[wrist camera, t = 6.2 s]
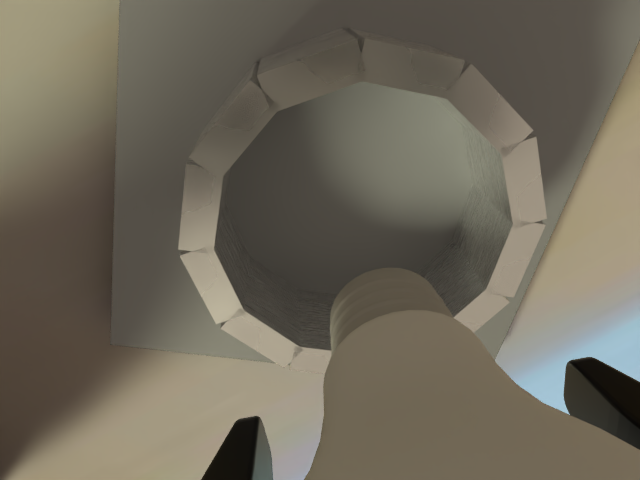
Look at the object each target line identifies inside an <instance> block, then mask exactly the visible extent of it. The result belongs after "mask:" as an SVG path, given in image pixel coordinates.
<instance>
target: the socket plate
mask: <svg viewBox="0 0 640 480" xmlns="http://www.w3.org/2000/svg"><path fill="white" fill-rule="evenodd" d="M340 28H342V29H344V30H345V31H346V32H347V30H348V28H353V29H357V30H362V31H366V32H371V33H375V34H380V35H384V36H389V37H393V38H398V39H402V40H407V41H411V42H416V43H421V44H425V45H429V46H432V47H434V48H437V49H439V50H441V51H444V52H446V53H449V54H451V55H454V56H456V57H459V58H461V59H464V60H465V61H466V62H468V63H471V64H472V65H473V66H474V67H475V68H476V69H477V70H478V71H479V72H480V73H481V74H482V75H483V76H484V78H485V79H486V80H487V81H488V82H489V83H490V84H491V85H492V86H493V87H494V88H495V89H496V90H497V92H498V93H499V94H500V95H501V96H502V97H503V98H504V99H505V100H506V101H507V102H508V103H509V105H510V106H511V107H512V108H513V109H514V110H515V111H516V112H517V113H518V114H519V115H520V116H521V117H522V119H523V120H524V121H525V122H526V123H527V124H528V125H529V126H530V127H531V128H532V129H533V131H532V132H531V134H533V135H534V136H536V138H537V146H538V153H539V161H540V169H541V177H542V184H543V192H544V200H545V207H546V215H547V219H544V220H541V221H542V222H543V223H544V224H546V226H545V228H544V230H543V232H542V235H541V237H540V239H539V241H538V244H537V246H536V248H535V250H534V253H533V255H532V257H531V260H530V262H529V264H528V266H527V269H526V271H525V273H524V275H523V278H522V280H521V282H520V284H519V287H518V289H517V291H516V293H515V296H514V297H507V296H506V298H507V299H508V300H509V302H510V303H509V304H507V305H506V306H505V307H504V308H503V309H501V310H500V311H499V312H498V313H497V314H495V315H494V316H493V317H492V318H491V319H490V320H488V321H487V322H486V323H485V324H484V325H482V326H481V327H480V328H479V329H478V330H476V331H475V332H474V334H475V335H476V336H477V337H478V338H479V339H480V340H481V342H482V343H483V345H484V346H485V348H486V349H487V351H488V352H489V353H490V355H491V356H492V358H493V359H494V361H495V358H496V356H497V354H498V352H499V349H500V347H501V345H502V343H503V341H504V338H505V336H506V334H507V332H508V330H509V327H510V325H511V323H512V321H513V319H514V316H515V314H516V312H517V310H518V307H519V305H520V303H521V301H522V299H523V296H524V294H525V292H526V290H527V288H528V285H529V283H530V281H531V279H532V277H533V274H534V272H535V270H536V268H537V266H538V263H539V261H540V259H541V257H542V254H543V252H544V250H545V248H546V246H547V243H548V241H549V239H550V237H551V235H552V232H553V230H554V228H555V226H556V224H557V221H558V219H559V217H560V215H561V212H562V210H563V208H564V206H565V204H566V201H567V199H568V197H569V195H570V193H571V190H572V188H573V186H574V184H575V182H576V179H577V177H578V175H579V173H580V171H581V168H582V166H583V164H584V162H585V159H586V157H587V155H588V153H589V151H590V148H591V146H592V144H593V142H594V140H595V137H596V135H597V133H598V131H599V129H600V126H601V124H602V122H603V120H604V117H605V115H606V113H607V111H608V109H609V106H610V104H611V102H612V100H613V98H614V95H615V93H616V91H617V89H618V87H619V84H620V82H621V80H622V78H623V76H624V73H625V71H626V69H627V67H628V64H629V62H630V60H631V58H632V56H633V53H634V51H635V49H636V47H637V45H638V42H639V40H640V0H120V5H119V42H118V79H117V117H116V154H115V191H114V229H113V266H112V303H111V341H110V345H117V346H126V347H135V348H144V349H153V350H162V351H171V352H180V353H188V354H197V355H206V356H215V357H224V358H233V359H242V360H251V361H260V362H268V363H275V362H273V361H272V360H270V359H269V358H267V357H265V356H264V355H262V354H260V353H259V352H257V351H256V350H254V349H252V348H251V347H249V346H248V345H246V344H244V343H243V342H241V341H240V340H238V339H236V338H235V337H233V336H232V335H230V334H228V333H227V332H225V331H224V330H222V329H220V327H221V323H218V324H216V323H215V321H214V319H213V317H212V316H211V314H210V312H209V310H208V308H207V306H206V304H205V302H204V301H203V299H202V297H201V295H200V293H199V291H198V289H197V287H196V286H195V284H194V282H193V280H192V278H191V276H190V274H189V273H188V271H187V269H186V267H185V265H184V263H183V261H182V259H181V258H180V253H181V250H178V246H179V235H180V224H181V213H182V202H183V191H184V180H185V169H186V163H187V161H188V159H189V156H190V154H191V152H192V150H193V148H194V146H195V144H196V142H197V141H198V139H199V137H200V135H201V133H202V131H203V129H204V128H205V126H206V124H207V123H208V121H209V120H210V119H211V118H212V116H213V115H214V114H215V113H216V111H217V110H218V109H219V107H220V106H221V105H222V104H223V102H224V101H225V100H226V99H227V97H228V96H229V95H230V94H231V92H232V91H233V90H234V88H235V87H236V86H237V85H238V83H239V82H240V81H241V80H242V78H243V77H244V76H245V74H246V73H247V72H248V71H249V69H250V68H251V67H252V66H253V64H254V63H255V62H256V61H257V62H258V63H259V64H260V61H261V57H263V56H266V55H269V54H271V53H274V52H277V51H280V50H282V49H285V48H288V47H291V46H293V45H296V44H299V43H302V42H304V41H307V40H310V39H313V38H315V37H318V36H321V35H323V34H326V33H329V32H332V31H334V30H337V29H340ZM472 183H473V182H472V177H471V172H470V167H469V162H468V157H467V152H466V147H465V142H464V137H463V132H462V127H461V123H460V122H459V121H458V120H457V119H456V118H455V117H454V116H453V115H452V114H451V113H450V112H449V111H448V110H447V109H446V108H445V107H444V106H443V105H442V104H441V103H440V102H439V101H438V100H437V99H436V98H435V97H434V96H431V95H426V94H421V93H416V92H411V91H406V90H401V89H397V88H392V87H387V86H382V85H377V84H372V83H367V82H359V83H356V84H353V85H350V86H348V87H345V88H342V89H339V90H336V91H333V92H331V93H328V94H325V95H322V96H319V97H317V98H314V99H311V100H308V101H305V102H302V103H300V104H297V105H294V106H291V107H288V108H285V109H283V110H280V111H277V112H276V113H275V115H274V116H273V117H272V118H271V119H270V121H269V122H268V123H267V124H266V125H265V127H264V128H263V129H262V130H261V131H260V133H259V134H258V135H257V136H256V137H255V139H254V140H253V141H252V142H251V143H250V144H249V146H248V147H247V148H246V149H245V150H244V152H243V153H242V154H241V155H240V156H239V158H238V159H237V160H236V161H235V162H234V164H233V165H232V166H231V167H230V174H229V182H228V189H227V197H226V205H227V207H228V209H229V211H230V213H231V216H232V218H233V220H234V222H235V224H236V226H237V229H238V231H239V233H240V235H241V237H242V240H243V242H244V244H245V246H246V248H247V250H248V253H249V255H250V256H251V257H252V258H253V259H255V260H256V261H258V262H259V263H261V264H262V265H263V266H265V267H266V268H268V269H269V270H270V271H272V272H273V273H275V274H276V275H278V276H279V277H280V278H282V279H283V280H285V281H286V282H288V283H289V284H290V285H292V286H293V287H295V288H296V289H301V290H308V291H315V292H323V293H330V294H337V295H338V294H339V292H340V291H341V290H342V289H343V288H344V287H345V285H346V284H347V283H349V282H350V281H352V280H353V279H354V278H356V277H357V276H359V275H361V274H363V273H365V272H368V271H372V270H375V269H380V268H402V269H406V270H410V271H412V272H415V273H416V272H418V271H419V270H420V269H421V268H422V267H423V266H424V265H425V264H426V263H427V262H428V261H429V260H430V259H432V258H433V257H434V256H435V255H436V254H437V253H438V252H439V251H440V250H441V249H442V248H443V247H444V246H446V245H447V244H448V243H449V242H450V241H451V240H452V239H453V236H454V233H455V231H456V228H457V225H458V222H459V219H460V217H461V214H462V211H463V208H464V206H465V203H466V200H467V197H468V194H469V192H470V189H471V186H472ZM288 365H290V363H289V364H288Z"/></svg>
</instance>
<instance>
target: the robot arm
mask: <svg viewBox="0 0 640 480" xmlns="http://www.w3.org/2000/svg"><path fill="white" fill-rule="evenodd" d="M564 401H565V404H566V407H567V409H568V412H569V414H570V415H571V416H573V417H575V418H578V419H580V420H582V421H584V422H587V423H589V424H591V425H593V426H596V427H598V428H600V429H602V430H604V431H606V432H608V433H609V434H611V435H613V436H615V437H617V438H619V439H621V440H622V441H624V442H626V443H628V444H630V445H632V446H633V447H635V448H637V449H639V450H640V382H639V381H637V380H635V379H633V378H631V377H629V376H627V375H626V374H624V373H622V372H620V371H618V370H616V369H614V368H612V367H611V366H609V365H607V364H605V363H603V362H601V361H599V360H597V359H595V358H592V357H586V358H581V359H575V360H571V361H569V362H568V363H567V365H566V373H565V385H564ZM201 480H273V472H272V457H271V451H270V446H269V443H268V439H267V436H266V433H265V429H264V426H263V423H262V420H261V418H260V417H258V416H254V417H248V418H243V419H239V420H237V421H236V422H235V424H234V425H233V427H232V429H231V430H230V432H229V434H228V435H227V437H226V439H225V440H224V442H223V444H222V445H221V447H220V449H219V450H218V452H217V454H216V456H215V457H214V459H213V461H212V462H211V464H210V466H209V467H208V469H207V471H206V472H205V474H204V476H203V477H202V479H201Z"/></svg>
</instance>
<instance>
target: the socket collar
mask: <svg viewBox="0 0 640 480" xmlns="http://www.w3.org/2000/svg"><path fill="white" fill-rule="evenodd" d="M359 82H367V83H372V84H377V85H382V86H387V87H392V88H397V89H401V90H406V91H411V92H416V93H421V94H426V95H431V96H434V97H435V98H436V99H437V100H438V101H439V102H440V103H441V104H442V105H443V106H444V107H445V108H446V109H447V110H448V111H449V112H450V113H451V114H452V115H453V116H454V117H455V118H456V119H457V120H458V121H459V122H460V123H461V127H462V132H463V137H464V142H465V147H466V152H467V157H468V162H469V167H470V172H471V177H472V182H473V183H472V186H471V189H470V192H469V194H468V197H467V200H466V203H465V206H464V208H463V211H462V214H461V217H460V219H459V222H458V225H457V228H456V231H455V233H454V236H453V239H452V240H451V241H450V242H449V243H448V244H447V245H446V246H444V247H443V248H442V249H441V250H440V251H439V252H438V253H437V254H436V255H435V256H434V257H433V258H432V259H430V260H429V261H428V262H427V263H426V264H425V265H424V266H423V267H422V268H421V269H420V270H419V271H418V272H416V273H417V274H419V275H420V276H422V277H423V278H425V279H426V280H427V281H428V282H429V283H430V284H431V285H432V286H433V288H434V289H435V291H436V292H437V294H438V295H439V296H440V297H441V298H442V299H443V301H444V303H445V305H446V307H447V308H448V309H449V310H450V312H451V314H452V316H453V318H454V319H456V320H457V321H459V322H460V323H462V324H463V325H465V326H466V327H468V328H469V329H470V330H471V331H473V333H474V332H475V331H476V330H478V329H479V328H480V327H481V326H482V325H484V324H485V323H486V322H487V321H488V320H490V319H491V318H492V317H493V316H494V315H495V314H497V313H498V312H499V311H500V310H501V309H503V308H504V307H505V306H506V305H507V304H509V303H510V302H509V300H508V299H507V298H506V296H507V297H514V296H515V293H516V291H517V289H518V287H519V284H520V282H521V280H522V278H523V275H524V273H525V271H526V269H527V266H528V264H529V262H530V260H531V257H532V255H533V253H534V250H535V248H536V246H537V244H538V241H539V239H540V237H541V235H542V232H543V230H544V228H545V226H546V224H544V223H543V222H542V221H541V220H544V219H547V215H546V207H545V200H544V192H543V184H542V177H541V169H540V161H539V153H538V146H537V138H536V136H534V135H533V134H531V132H532V131H533V129H532V128H531V127H530V126H529V125H528V124H527V123H526V122H525V121H524V120H523V119H522V117H521V116H520V115H519V114H518V113H517V112H516V111H515V110H514V109H513V108H512V107H511V106H510V105H509V103H508V102H507V101H506V100H505V99H504V98H503V97H502V96H501V95H500V94H499V93H498V92H497V90H496V89H495V88H494V87H493V86H492V85H491V84H490V83H489V82H488V81H487V80H486V79H485V78H484V76H483V75H482V74H481V73H480V72H479V71H478V70H477V69H476V68H475V67H474V66H473V65H472V64H471V63H468V62H466V61H465V60H464V59H461V58H459V57H456V56H454V55H451V54H449V53H446V52H444V51H441V50H439V49H437V48H434V47H432V46H429V45H425V44H421V43H416V42H411V41H407V40H402V39H398V38H393V37H389V36H384V35H380V34H375V33H371V32H366V31H362V30H357V29H353V28H348V30H347V32H346V31H345V30H344V29H342V28H340V29H337V30H334V31H332V32H329V33H326V34H323V35H321V36H318V37H315V38H313V39H310V40H307V41H304V42H302V43H299V44H296V45H293V46H291V47H288V48H285V49H282V50H280V51H277V52H274V53H271V54H269V55H266V56H263V57H261V61H260V64H259V63H258V62H257V61H256V62H255V63H254V64H253V66H252V67H251V68H250V69H249V71H248V72H247V73H246V74H245V76H244V77H243V78H242V80H241V81H240V82H239V83H238V85H237V86H236V87H235V88H234V90H233V91H232V92H231V94H230V95H229V96H228V97H227V99H226V100H225V101H224V102H223V104H222V105H221V106H220V107H219V109H218V110H217V111H216V113H215V114H214V115H213V116H212V118H211V119H210V120H209V121H208V123H207V124H206V126H205V128H204V129H203V131H202V133H201V135H200V137H199V139H198V141H197V142H196V144H195V146H194V148H193V150H192V152H191V154H190V156H189V159H188V161H187V163H186V169H185V180H184V191H183V202H182V213H181V224H180V235H179V246H178V250H181V253H180V258H181V259H182V261H183V263H184V265H185V267H186V269H187V271H188V273H189V274H190V276H191V278H192V280H193V282H194V284H195V286H196V287H197V289H198V291H199V293H200V295H201V297H202V299H203V301H204V302H205V304H206V306H207V308H208V310H209V312H210V314H211V316H212V317H213V319H214V321H215V323H216V324H218V323H221V327H220V329H222V330H224V331H225V332H227V333H228V334H230V335H232V336H233V337H235V338H236V339H238V340H240V341H241V342H243V343H244V344H246V345H248V346H249V347H251V348H252V349H254V350H256V351H257V352H259V353H260V354H262V355H264V356H265V357H267V358H269V359H270V360H272V361H273V362H275V363H277V364H278V365H280V366H281V367H283V368H285V367H286V366H287V365H288V364H289V363H290V370H294V371H303V372H312V373H321V374H325V372H326V369H327V366H328V364H329V361H330V358H331V352H332V349H331V334H330V316H331V308H332V306H333V303H334V300H335V298H336V297H337V294H330V293H323V292H315V291H308V290H301V289H296V288H295V287H293V286H292V285H290V284H289V283H288V282H286V281H285V280H283V279H282V278H280V277H279V276H278V275H276V274H275V273H273V272H272V271H270V270H269V269H268V268H266V267H265V266H263V265H262V264H261V263H259V262H258V261H256V260H255V259H253V258H252V257H251V256H250V255H249V253H248V250H247V248H246V246H245V244H244V242H243V240H242V237H241V235H240V233H239V231H238V229H237V226H236V224H235V222H234V220H233V218H232V216H231V213H230V211H229V209H228V207H227V205H226V197H227V189H228V182H229V174H230V167H231V166H232V165H233V164H234V162H235V161H236V160H237V159H238V158H239V156H240V155H241V154H242V153H243V152H244V150H245V149H246V148H247V147H248V146H249V144H250V143H251V142H252V141H253V140H254V139H255V137H256V136H257V135H258V134H259V133H260V131H261V130H262V129H263V128H264V127H265V125H266V124H267V123H268V122H269V121H270V119H271V118H272V117H273V116H274V115H275V113H276V112H277V111H280V110H283V109H285V108H288V107H291V106H294V105H297V104H300V103H302V102H305V101H308V100H311V99H314V98H317V97H319V96H322V95H325V94H328V93H331V92H333V91H336V90H339V89H342V88H345V87H348V86H350V85H353V84H356V83H359Z"/></svg>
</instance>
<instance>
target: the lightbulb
mask: <svg viewBox="0 0 640 480" xmlns="http://www.w3.org/2000/svg"><path fill="white" fill-rule="evenodd" d="M330 334H331V349H332V352H331V358H330V361H329V364H328V366H327V369H326V372H325V377H324V386H323V393H324V418H323V425H322V432H321V439H320V443H319V446H318V449H317V451H316V454H315V457H314V460H313V463H312V466H311V469H310V471H309V472H308V474H307V476H306V477H305V479H304V480H640V450H639V449H637V448H635V447H633V446H632V445H630V444H628V443H626V442H624V441H622V440H621V439H619V438H617V437H615V436H613V435H611V434H609V433H608V432H606V431H604V430H602V429H600V428H598V427H596V426H593V425H591V424H589V423H587V422H584V421H582V420H580V419H578V418H575V417H573V416H571V415H569V414H566V413H564V412H562V411H560V410H557V409H555V408H553V407H551V406H548V405H546V404H544V403H542V402H541V401H539V400H538V399H537V398H535V397H534V396H532V395H531V394H530V393H528V392H527V391H525V390H524V389H522V388H521V387H520V386H518V385H517V384H516V383H515V382H514V381H513V380H512V379H511V378H510V377H509V376H508V375H507V374H506V373H505V372H504V371H503V370H502V369H501V368H500V367H499V366H498V365H497V364H496V362H495V361H494V359H493V358H492V356H491V355H490V353H489V352H488V351H487V349H486V348H485V346H484V345H483V343H482V342H481V340H480V339H479V338H478V337H477V336H476V335H475V334H474V333H473V331H471V330H470V329H469V328H468V327H466V326H465V325H463V324H462V323H460V322H459V321H457V320H456V319H454V318H453V316H452V314H451V312H450V310H449V309H448V308H447V307H446V305H445V303H444V301H443V299H442V298H441V297H440V296H439V295H438V294H437V292H436V291H435V289H434V288H433V286H432V285H431V284H430V283H429V282H428V281H427V280H426V279H425V278H423V277H422V276H420V275H419V274H417V273H415V272H412V271H410V270H406V269H402V268H380V269H375V270H372V271H368V272H365V273H363V274H361V275H359V276H357V277H356V278H354V279H353V280H352V281H350V282H349V283H347V284H346V285H345V287H344V288H343V289H342V290H341V291H340V292H339V294H338V295H337V297H336V298H335V300H334V303H333V306H332V308H331V316H330Z"/></svg>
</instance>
